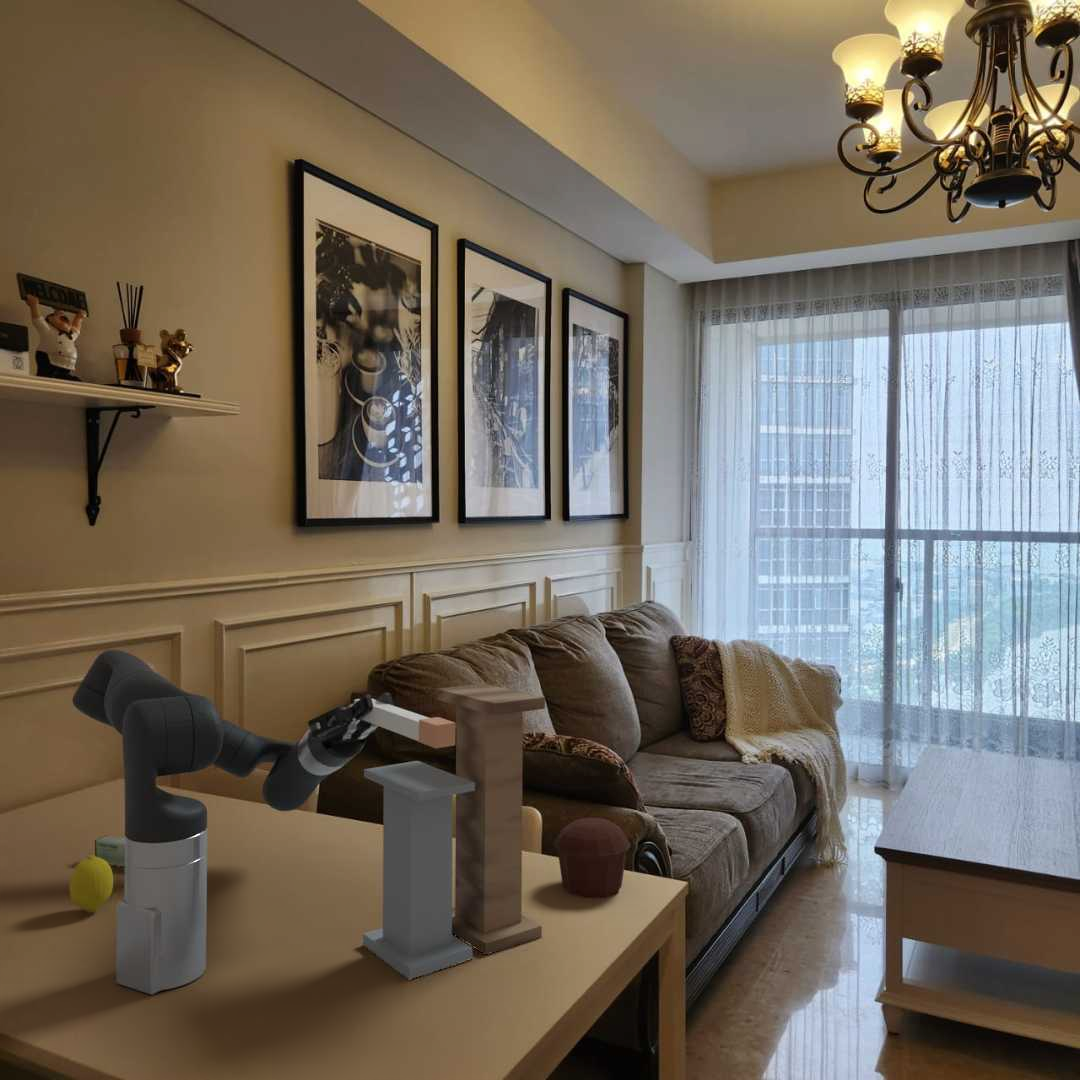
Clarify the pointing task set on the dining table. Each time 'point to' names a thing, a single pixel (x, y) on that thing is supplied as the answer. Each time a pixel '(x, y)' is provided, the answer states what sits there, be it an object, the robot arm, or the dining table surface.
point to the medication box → (111, 850)
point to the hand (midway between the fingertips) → (379, 700)
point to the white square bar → (412, 724)
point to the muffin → (592, 857)
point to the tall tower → (490, 816)
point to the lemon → (91, 883)
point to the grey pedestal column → (417, 869)
